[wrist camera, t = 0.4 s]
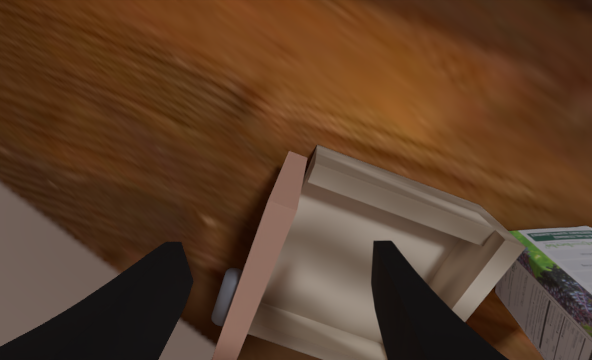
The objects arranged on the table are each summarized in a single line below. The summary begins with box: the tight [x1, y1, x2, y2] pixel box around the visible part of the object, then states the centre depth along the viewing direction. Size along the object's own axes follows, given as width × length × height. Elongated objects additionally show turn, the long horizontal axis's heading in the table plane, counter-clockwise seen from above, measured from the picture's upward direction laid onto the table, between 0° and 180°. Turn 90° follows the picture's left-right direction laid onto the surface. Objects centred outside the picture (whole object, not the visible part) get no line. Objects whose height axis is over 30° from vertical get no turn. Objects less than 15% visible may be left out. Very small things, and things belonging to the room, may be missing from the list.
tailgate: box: [212, 151, 307, 360], centre depth 17 cm, size 13×2×7 cm, turn 160°
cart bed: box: [247, 145, 526, 360], centre depth 20 cm, size 14×12×5 cm
